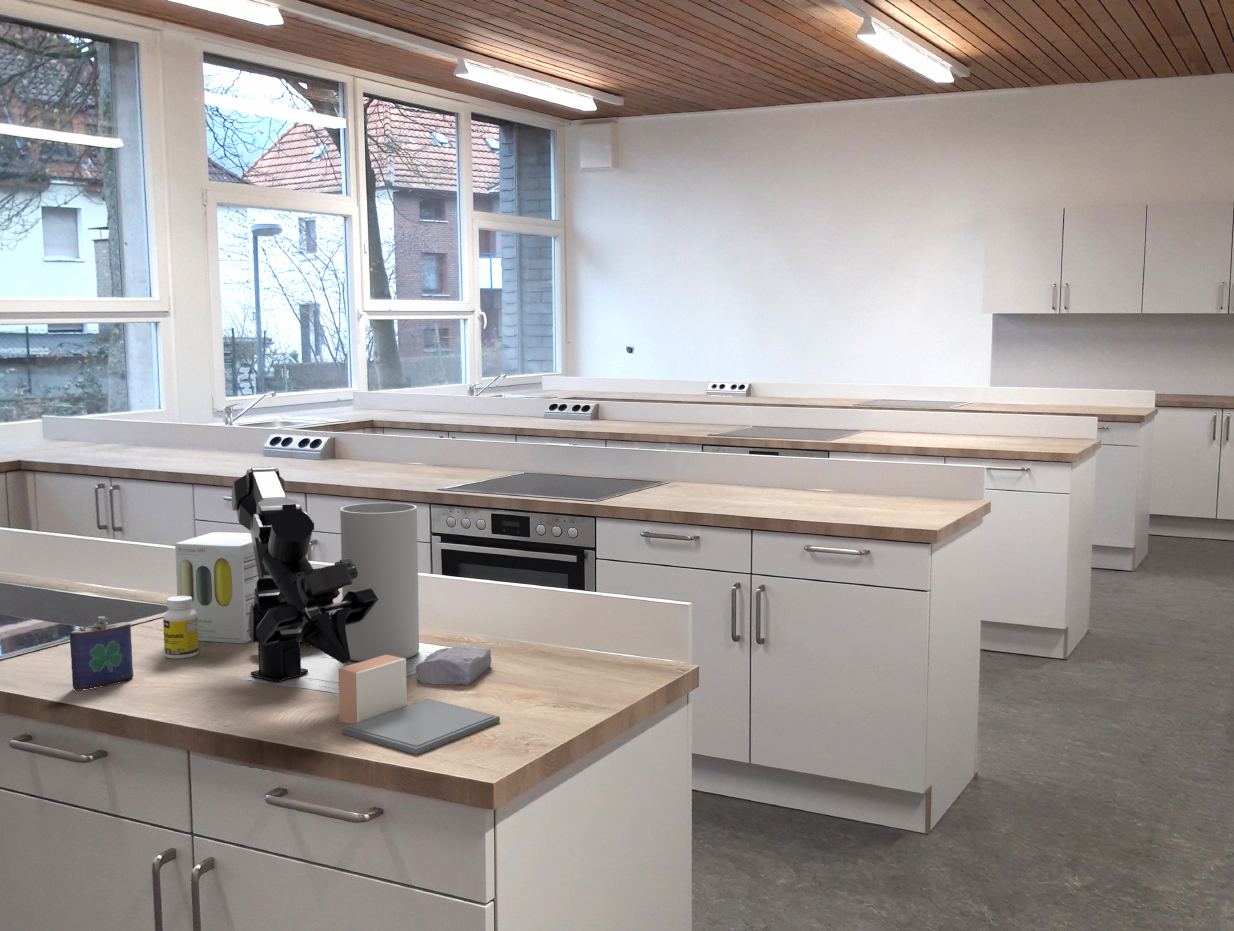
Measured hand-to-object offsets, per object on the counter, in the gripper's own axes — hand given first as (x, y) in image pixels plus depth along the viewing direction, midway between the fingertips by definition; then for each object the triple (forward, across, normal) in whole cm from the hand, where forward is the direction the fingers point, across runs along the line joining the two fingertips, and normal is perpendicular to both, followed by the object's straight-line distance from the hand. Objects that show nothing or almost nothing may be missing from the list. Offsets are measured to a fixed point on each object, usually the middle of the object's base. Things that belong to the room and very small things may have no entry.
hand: (347, 661), depth 168 cm
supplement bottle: (-27, +3, +37) cm, 45 cm away
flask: (-23, -14, +33) cm, 43 cm away
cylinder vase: (-8, +23, +18) cm, 30 cm away
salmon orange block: (+9, 0, +1) cm, 9 cm away
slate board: (+15, 0, -6) cm, 16 cm away
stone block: (+5, +22, +6) cm, 23 cm away
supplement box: (-31, +17, +41) cm, 54 cm away
